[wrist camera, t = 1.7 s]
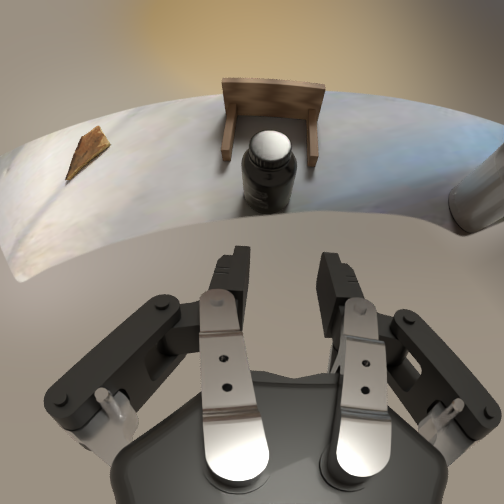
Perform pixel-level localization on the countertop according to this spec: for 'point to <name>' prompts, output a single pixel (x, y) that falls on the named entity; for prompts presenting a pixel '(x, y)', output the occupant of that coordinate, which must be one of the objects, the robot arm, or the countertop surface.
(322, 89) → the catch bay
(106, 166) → the countertop surface
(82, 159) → the shard
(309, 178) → the countertop surface
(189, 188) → the countertop surface
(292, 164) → the supplement bottle
